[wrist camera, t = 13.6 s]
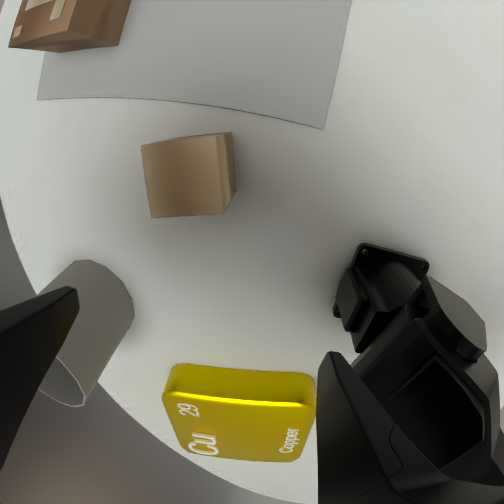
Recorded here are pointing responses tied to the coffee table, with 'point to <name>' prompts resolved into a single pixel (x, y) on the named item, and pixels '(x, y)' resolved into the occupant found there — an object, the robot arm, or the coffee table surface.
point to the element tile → (240, 412)
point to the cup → (88, 331)
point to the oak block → (189, 175)
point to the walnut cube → (69, 24)
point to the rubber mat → (214, 57)
